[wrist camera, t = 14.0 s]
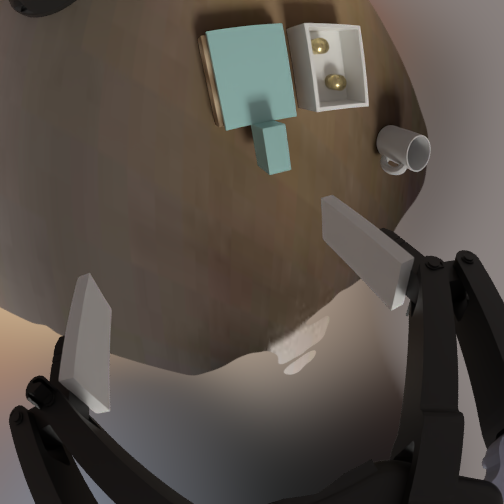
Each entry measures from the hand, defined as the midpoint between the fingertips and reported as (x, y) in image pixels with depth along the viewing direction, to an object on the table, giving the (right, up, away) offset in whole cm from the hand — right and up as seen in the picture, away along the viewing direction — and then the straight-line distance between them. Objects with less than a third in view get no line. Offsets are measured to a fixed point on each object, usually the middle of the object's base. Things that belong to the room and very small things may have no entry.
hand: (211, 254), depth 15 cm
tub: (+13, +31, +25) cm, 42 cm away
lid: (+3, +23, +22) cm, 32 cm away
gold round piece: (+15, +28, +26) cm, 42 cm away
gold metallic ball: (+12, +33, +22) cm, 41 cm away
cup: (+29, +22, +37) cm, 52 cm away
